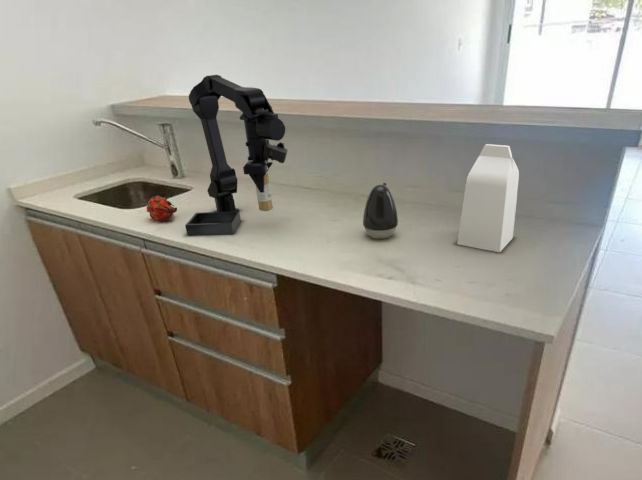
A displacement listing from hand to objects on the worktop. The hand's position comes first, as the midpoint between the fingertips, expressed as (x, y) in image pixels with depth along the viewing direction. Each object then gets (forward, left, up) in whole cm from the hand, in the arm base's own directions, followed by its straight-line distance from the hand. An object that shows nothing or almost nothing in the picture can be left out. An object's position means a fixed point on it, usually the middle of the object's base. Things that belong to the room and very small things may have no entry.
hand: (263, 190), depth 144 cm
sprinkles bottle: (0, 0, -6) cm, 6 cm away
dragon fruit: (-38, -13, -12) cm, 41 cm away
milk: (+63, +22, -12) cm, 68 cm away
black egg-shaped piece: (+35, +11, -12) cm, 39 cm away
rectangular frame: (-15, -10, -12) cm, 21 cm away
